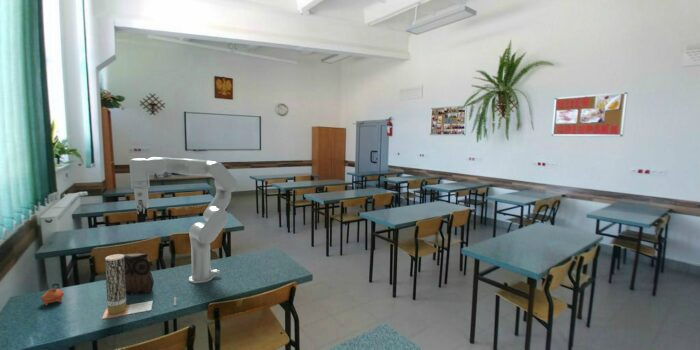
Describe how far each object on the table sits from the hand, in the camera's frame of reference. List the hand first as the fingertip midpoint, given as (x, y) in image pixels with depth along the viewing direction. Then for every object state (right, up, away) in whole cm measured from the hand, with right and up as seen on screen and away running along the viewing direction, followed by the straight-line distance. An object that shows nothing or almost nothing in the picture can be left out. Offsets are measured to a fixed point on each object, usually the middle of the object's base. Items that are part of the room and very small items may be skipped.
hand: (142, 219), depth 158 cm
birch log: (-4, -39, -12) cm, 41 cm away
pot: (-38, -38, -6) cm, 54 cm away
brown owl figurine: (-6, -37, +9) cm, 39 cm away
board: (+5, -39, -8) cm, 40 cm away
